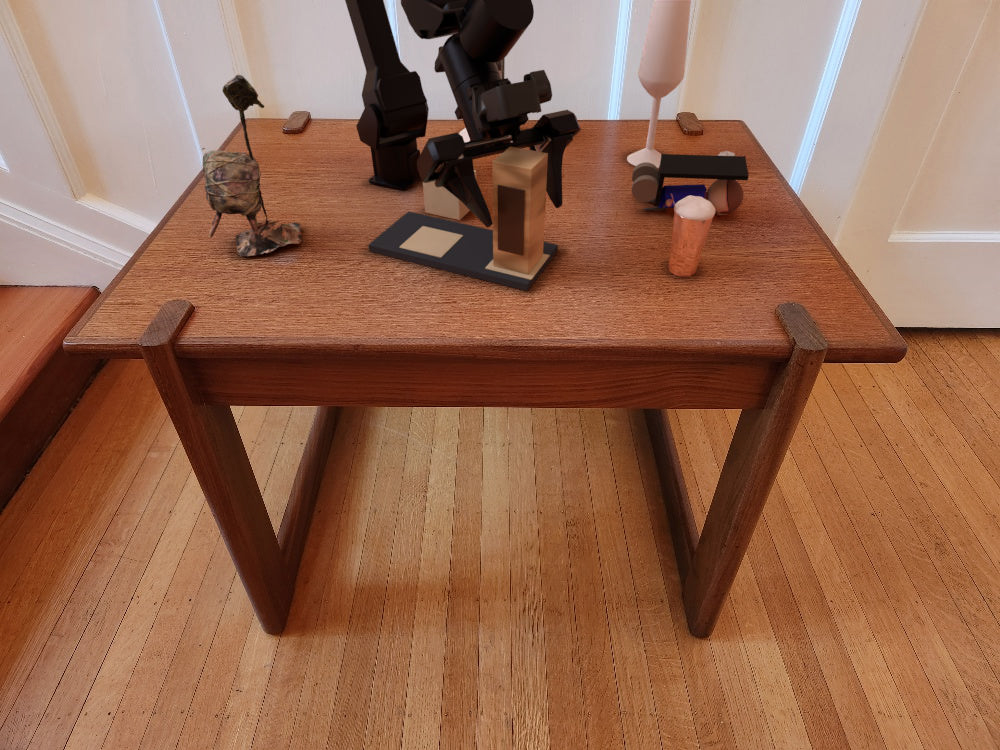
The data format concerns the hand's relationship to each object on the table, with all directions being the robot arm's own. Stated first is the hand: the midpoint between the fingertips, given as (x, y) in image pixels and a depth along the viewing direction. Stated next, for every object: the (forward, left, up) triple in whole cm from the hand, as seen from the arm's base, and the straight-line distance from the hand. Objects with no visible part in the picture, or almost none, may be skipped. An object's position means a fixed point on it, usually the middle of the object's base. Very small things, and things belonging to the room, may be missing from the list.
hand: (525, 216), depth 72 cm
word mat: (-9, +2, -8) cm, 12 cm away
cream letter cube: (-16, +12, -8) cm, 21 cm away
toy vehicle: (+14, +25, -8) cm, 29 cm away
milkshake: (+17, +9, -8) cm, 21 cm away
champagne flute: (+5, +40, -8) cm, 41 cm away
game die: (+17, +40, -8) cm, 44 cm away
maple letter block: (-1, +1, -7) cm, 7 cm away
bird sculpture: (-34, -7, -8) cm, 36 cm away
